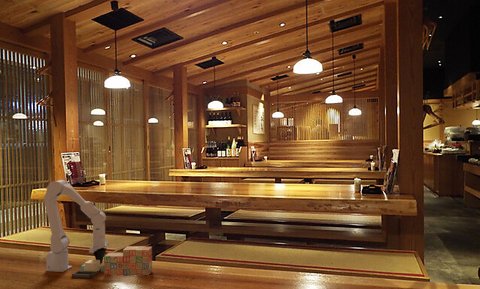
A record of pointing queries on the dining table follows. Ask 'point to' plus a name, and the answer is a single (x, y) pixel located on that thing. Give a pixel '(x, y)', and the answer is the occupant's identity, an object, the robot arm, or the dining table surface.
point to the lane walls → (84, 268)
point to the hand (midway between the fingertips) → (99, 263)
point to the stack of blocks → (129, 262)
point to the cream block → (92, 265)
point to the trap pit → (84, 274)
